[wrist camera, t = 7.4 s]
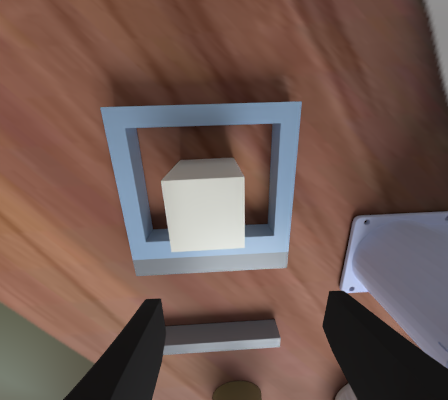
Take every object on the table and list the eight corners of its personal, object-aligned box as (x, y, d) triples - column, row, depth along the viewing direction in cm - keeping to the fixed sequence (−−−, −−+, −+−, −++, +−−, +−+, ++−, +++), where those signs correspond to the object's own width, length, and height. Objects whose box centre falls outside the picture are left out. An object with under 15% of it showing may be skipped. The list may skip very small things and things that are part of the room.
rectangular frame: (290, 104, 15) (301, 101, 13) (274, 327, 22) (279, 346, 20) (115, 109, 14) (100, 107, 12) (158, 335, 22) (153, 355, 20)
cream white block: (233, 157, 16) (244, 176, 10) (234, 206, 17) (244, 247, 12) (180, 159, 16) (160, 180, 10) (185, 209, 17) (171, 252, 11)
